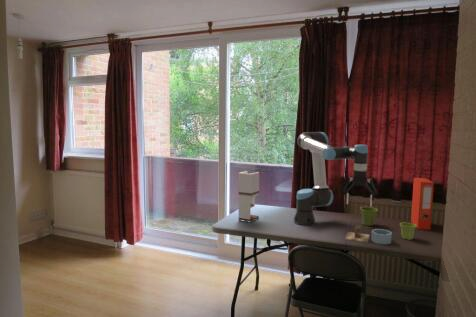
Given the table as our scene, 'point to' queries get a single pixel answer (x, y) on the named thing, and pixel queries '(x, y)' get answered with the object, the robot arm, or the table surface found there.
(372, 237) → the slate-blue bowl
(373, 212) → the plant pot
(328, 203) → the robot arm
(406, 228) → the plant pot
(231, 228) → the table surface
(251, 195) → the white coffee grinder
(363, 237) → the oak board
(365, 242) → the charcoal mat
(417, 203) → the file binder
